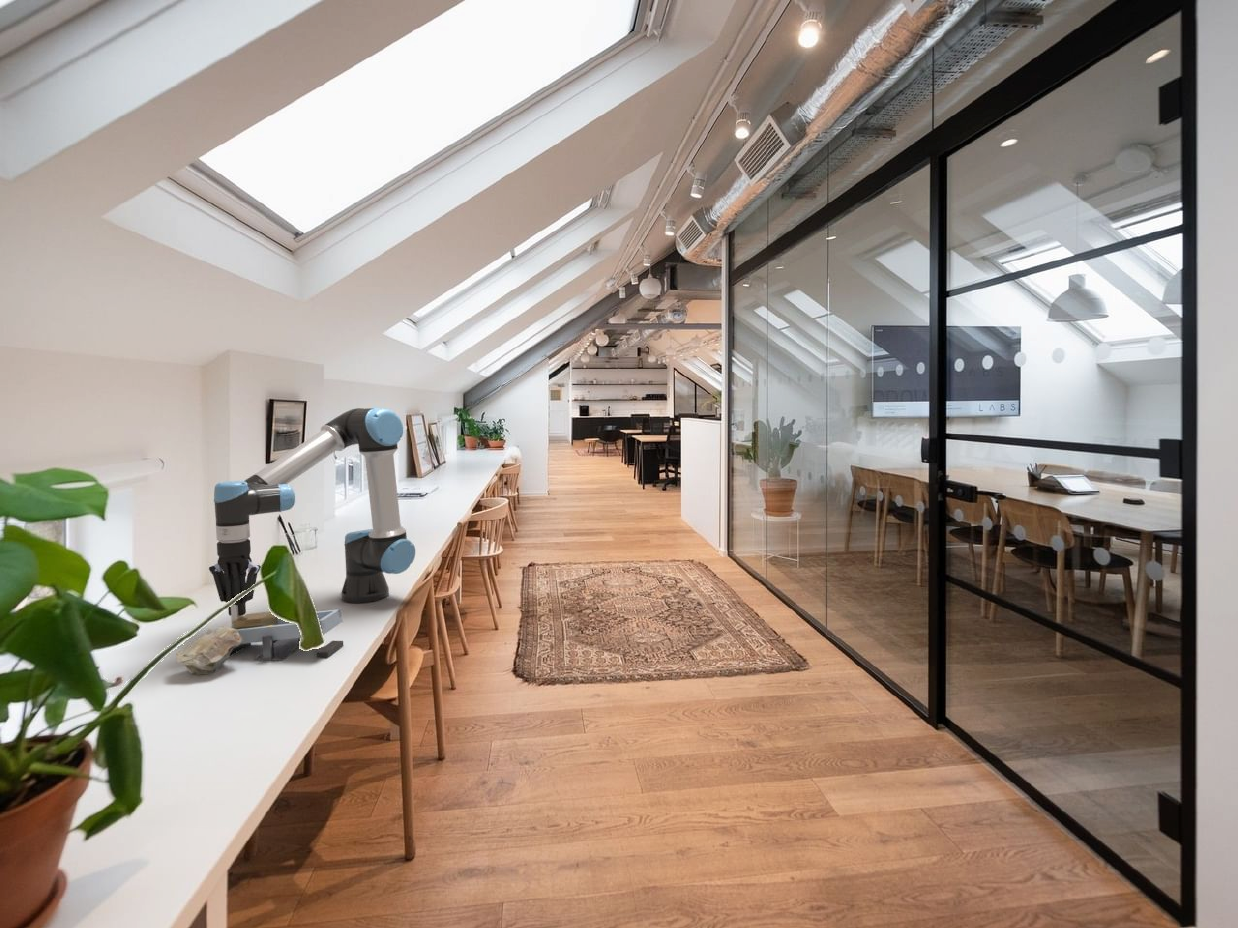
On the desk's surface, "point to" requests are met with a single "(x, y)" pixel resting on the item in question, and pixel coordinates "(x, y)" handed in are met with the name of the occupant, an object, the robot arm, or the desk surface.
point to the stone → (209, 650)
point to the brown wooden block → (255, 620)
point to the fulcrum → (286, 648)
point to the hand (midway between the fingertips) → (238, 626)
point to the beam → (289, 628)
